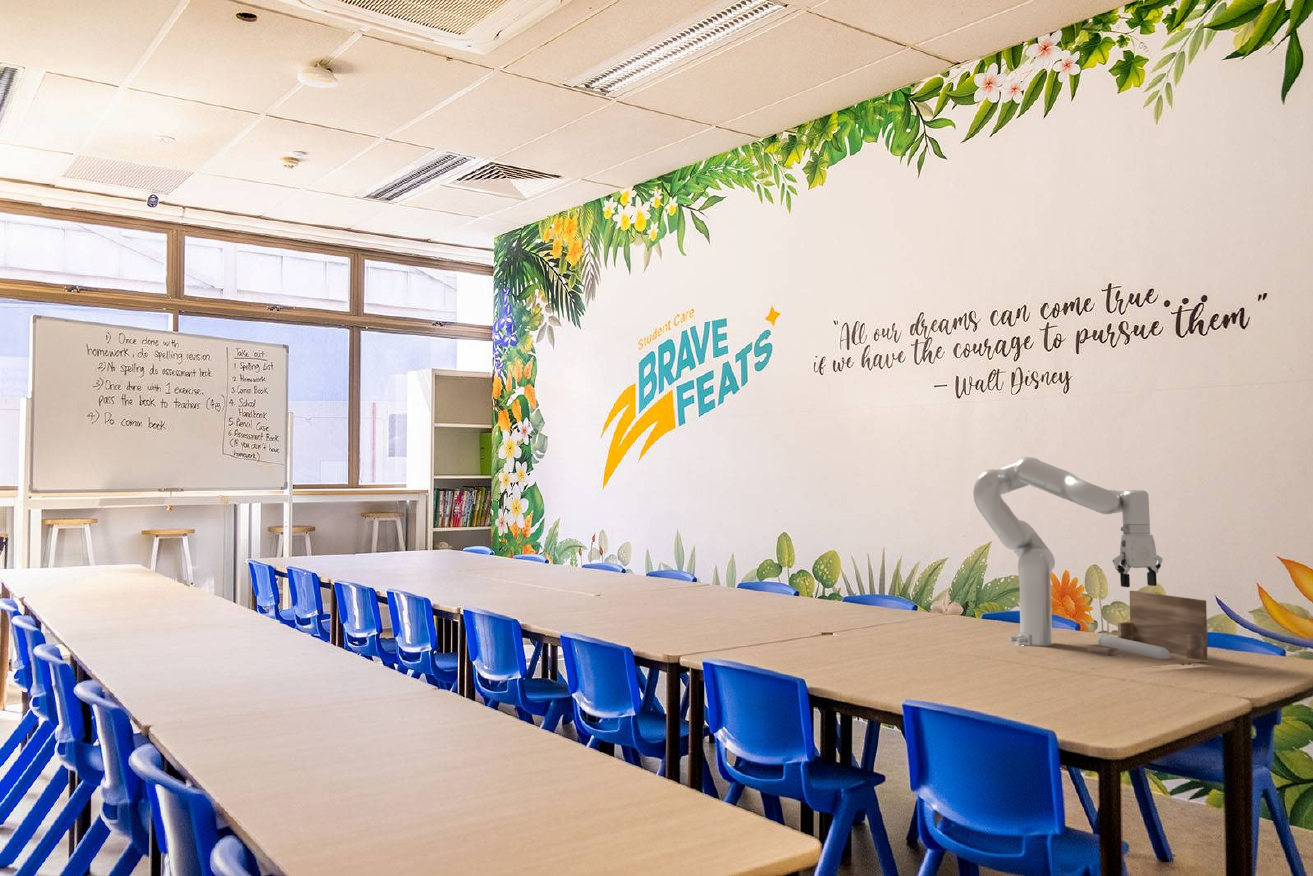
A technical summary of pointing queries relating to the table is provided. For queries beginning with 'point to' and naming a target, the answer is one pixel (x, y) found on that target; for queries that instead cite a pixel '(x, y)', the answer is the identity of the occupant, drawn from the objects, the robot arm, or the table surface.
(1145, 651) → the tube
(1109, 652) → the offcut top
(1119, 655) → the offcut low
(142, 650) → the table surface
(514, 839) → the table surface
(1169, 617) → the wooden panel stand
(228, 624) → the table surface
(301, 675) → the table surface
